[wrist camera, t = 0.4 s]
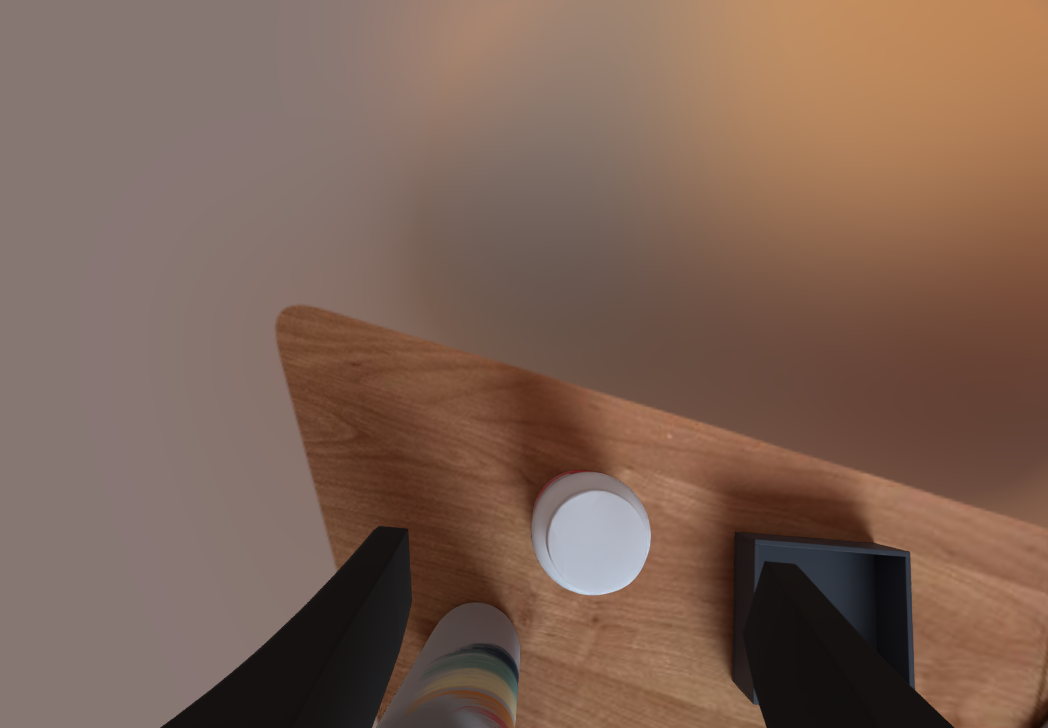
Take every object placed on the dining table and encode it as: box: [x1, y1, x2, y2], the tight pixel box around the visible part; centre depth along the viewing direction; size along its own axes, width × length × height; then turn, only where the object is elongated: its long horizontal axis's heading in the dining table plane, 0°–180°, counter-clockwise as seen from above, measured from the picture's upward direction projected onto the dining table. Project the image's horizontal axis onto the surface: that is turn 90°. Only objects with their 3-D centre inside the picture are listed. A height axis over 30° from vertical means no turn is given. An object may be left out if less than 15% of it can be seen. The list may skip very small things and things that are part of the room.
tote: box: [732, 532, 915, 705], centre depth 34 cm, size 9×9×3 cm
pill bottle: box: [531, 470, 651, 595], centre depth 31 cm, size 6×6×11 cm
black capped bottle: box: [376, 603, 520, 728], centre depth 26 cm, size 6×6×20 cm
